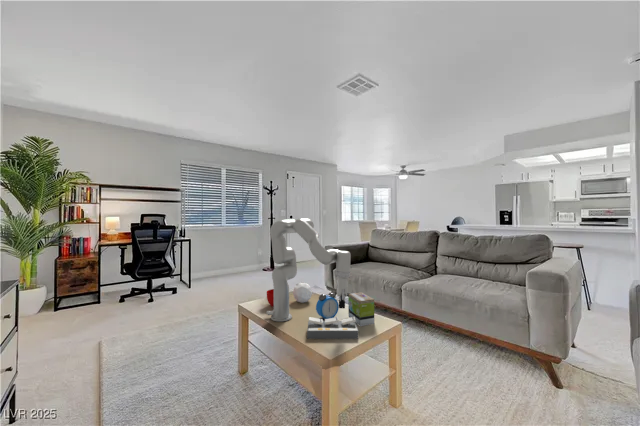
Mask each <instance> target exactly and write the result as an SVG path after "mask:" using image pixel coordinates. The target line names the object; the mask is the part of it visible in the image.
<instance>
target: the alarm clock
mask: <svg viewBox="0 0 640 426" xmlns="http://www.w3.org/2000/svg"><path fill="white" fill-rule="evenodd" d="M336 295H337V294H335V293H334V292H329V293H327V294H326V293H322V294H320V295H319V296H318V300H317V302H316V305H315V310H316V313H317V315H318V316H320V317H321V318H322V319H324V320H323V321H325V319H329V318H335V317H336V315H337V314H338V313H339V309H340V308H339V301H338V300H337V299H336V297H337V296H336Z"/></svg>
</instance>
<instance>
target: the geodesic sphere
mask: <svg viewBox="0 0 640 426" xmlns="http://www.w3.org/2000/svg"><path fill="white" fill-rule="evenodd" d="M292 295H293V298H294V300H296V302H298V303H301V304H304V303H307V302H309V301H310V300H311V297H312V296H313V289H312V287H311V286H310V284H308V283H306V282H303V281H301V282H299V283H296V284H295V286H294V287H293V291H292Z"/></svg>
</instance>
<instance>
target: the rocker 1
mask: <svg viewBox="0 0 640 426" xmlns="http://www.w3.org/2000/svg"><path fill="white" fill-rule="evenodd" d="M323 319H324V318H318V317H313V316H312V317H311V316H309V317H308V321H309V322H310V323H315V324H321V325H322V323H323V321H324V320H323Z"/></svg>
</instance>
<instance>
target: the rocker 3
mask: <svg viewBox="0 0 640 426" xmlns="http://www.w3.org/2000/svg"><path fill="white" fill-rule="evenodd" d="M340 321H342V325H345V324H349V323H353V322H356V320H355V317H348V318H344V319H341V320H340Z"/></svg>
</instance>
